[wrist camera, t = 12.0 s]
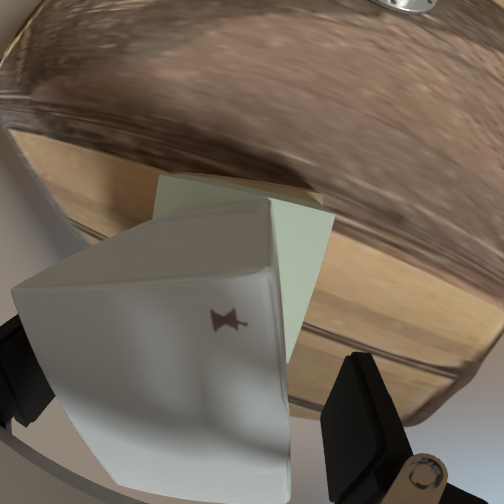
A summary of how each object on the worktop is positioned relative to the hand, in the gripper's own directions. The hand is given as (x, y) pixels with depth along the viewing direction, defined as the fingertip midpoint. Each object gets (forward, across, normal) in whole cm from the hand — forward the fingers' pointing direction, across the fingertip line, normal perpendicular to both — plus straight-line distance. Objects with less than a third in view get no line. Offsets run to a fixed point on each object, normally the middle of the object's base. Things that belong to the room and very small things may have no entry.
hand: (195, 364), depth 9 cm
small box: (+10, 0, 0) cm, 10 cm away
